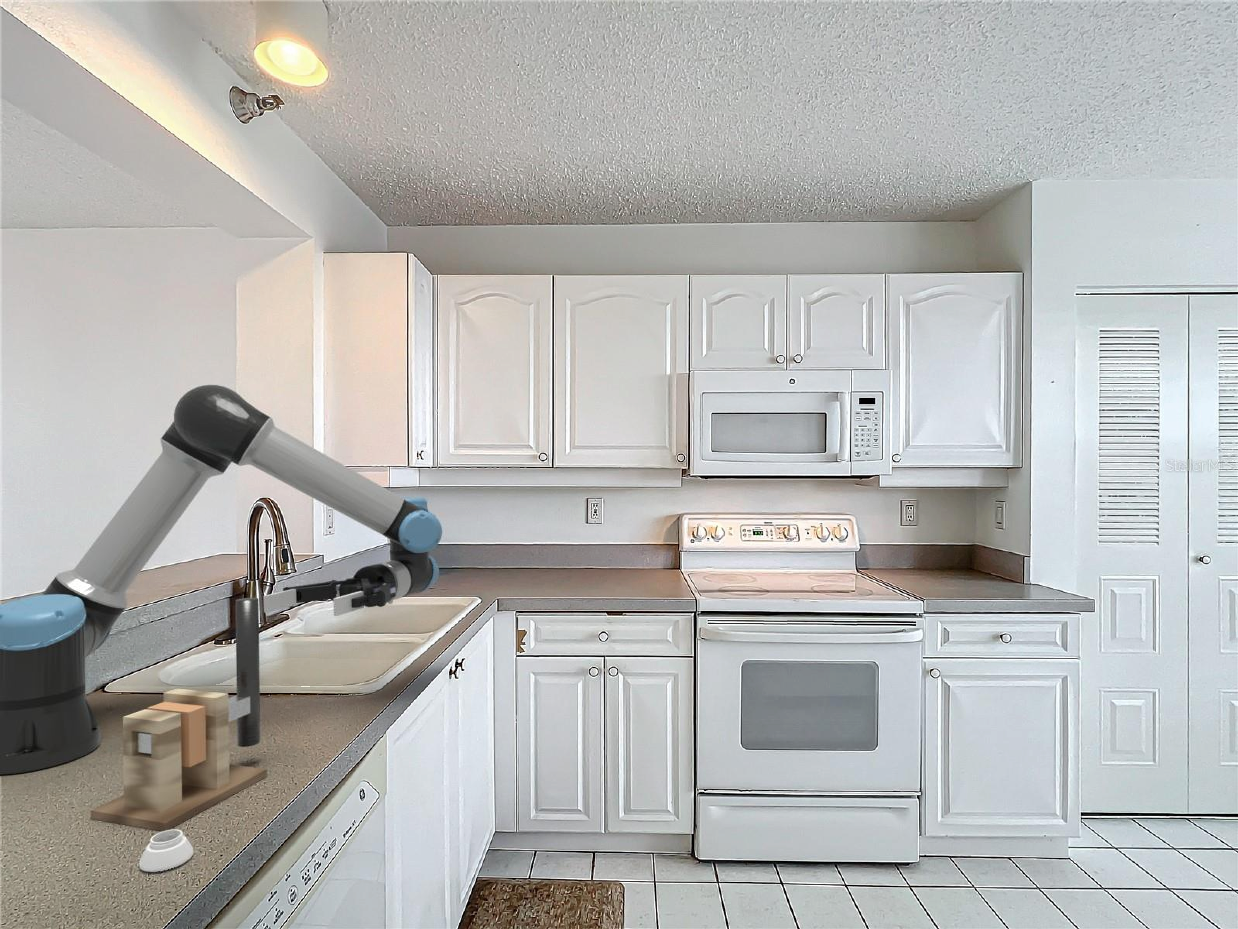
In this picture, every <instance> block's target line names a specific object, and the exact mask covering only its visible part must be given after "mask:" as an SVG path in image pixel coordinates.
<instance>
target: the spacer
mask: <svg viewBox="0 0 1238 929" xmlns="http://www.w3.org/2000/svg"><path fill="white" fill-rule="evenodd" d="M147 710H156V711H165V712H174V713H181V766H184V767H191V766H194V765H196V764H198V763H200V762H202V761H204V760H206V715H205V706H198V705H189V704H180V703H171V702H164V701H162V702H160V703H157V704H154V705H151V706H148V707H147Z"/></svg>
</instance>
